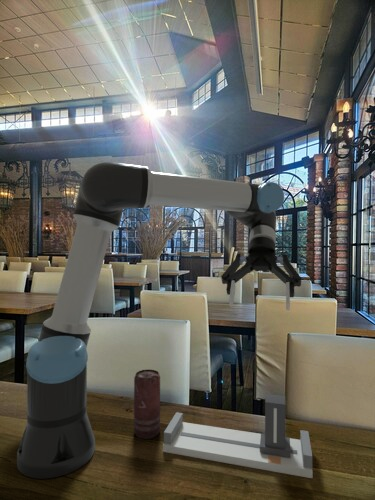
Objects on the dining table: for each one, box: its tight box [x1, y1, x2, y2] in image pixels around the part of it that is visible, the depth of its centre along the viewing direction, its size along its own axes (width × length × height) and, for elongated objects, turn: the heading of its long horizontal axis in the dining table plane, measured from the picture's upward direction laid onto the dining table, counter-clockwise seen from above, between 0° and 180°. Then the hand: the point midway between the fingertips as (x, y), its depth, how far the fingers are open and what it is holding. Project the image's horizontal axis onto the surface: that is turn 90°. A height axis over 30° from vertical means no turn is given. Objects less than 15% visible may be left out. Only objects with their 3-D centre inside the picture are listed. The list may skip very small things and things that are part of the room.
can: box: [133, 369, 161, 440], centre depth 78 cm, size 6×6×14 cm
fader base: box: [162, 412, 314, 479], centre depth 71 cm, size 30×10×4 cm, turn 75°
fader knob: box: [260, 393, 291, 457], centre depth 69 cm, size 6×5×10 cm
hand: (258, 305), depth 80 cm, fingers open, 13 cm apart
